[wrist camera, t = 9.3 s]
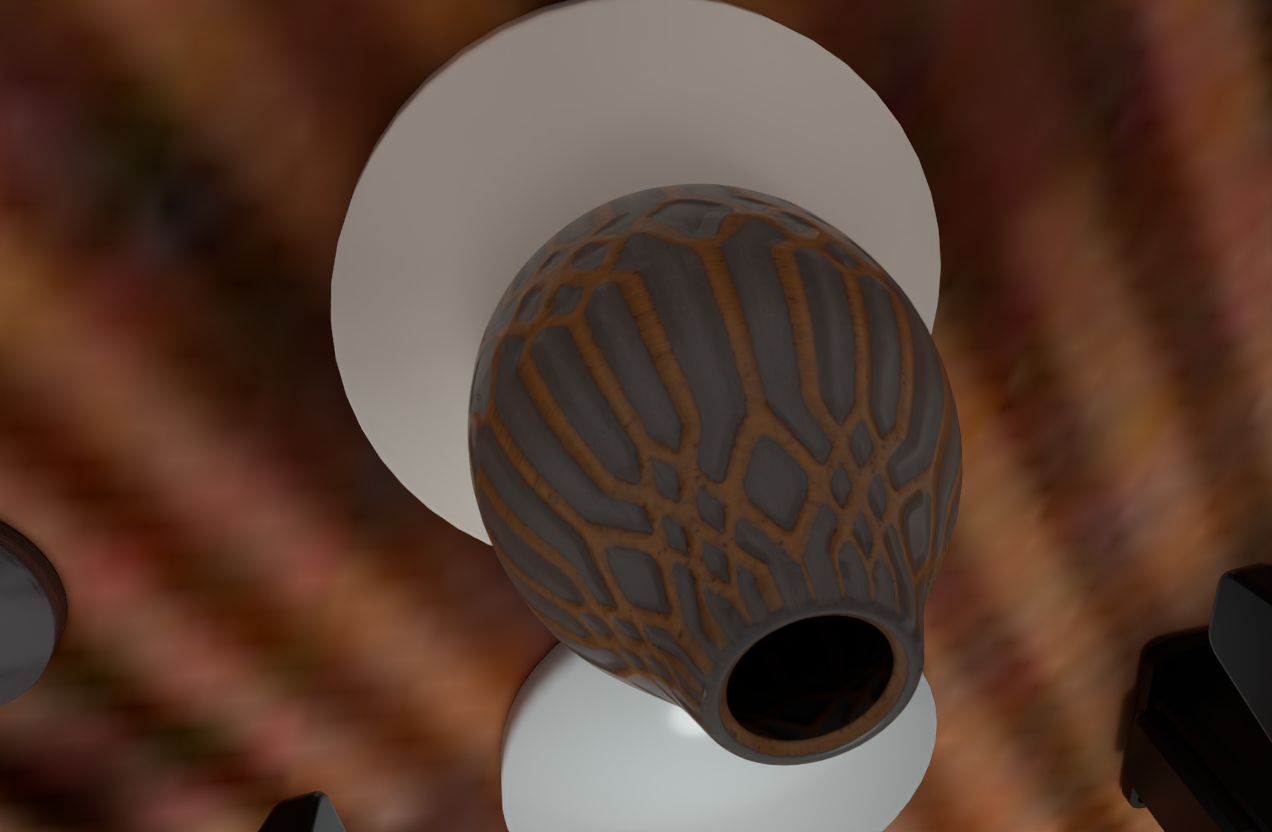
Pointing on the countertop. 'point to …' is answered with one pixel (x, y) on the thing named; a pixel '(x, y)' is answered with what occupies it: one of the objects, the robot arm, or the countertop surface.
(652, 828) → the white round plate
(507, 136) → the dish low
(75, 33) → the countertop surface
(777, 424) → the vase
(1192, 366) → the countertop surface
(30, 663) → the balance
